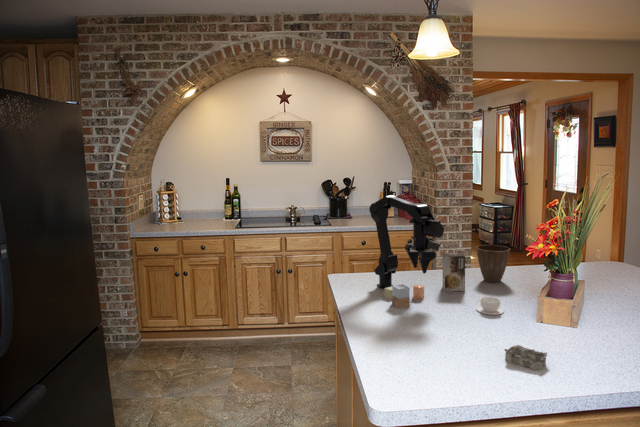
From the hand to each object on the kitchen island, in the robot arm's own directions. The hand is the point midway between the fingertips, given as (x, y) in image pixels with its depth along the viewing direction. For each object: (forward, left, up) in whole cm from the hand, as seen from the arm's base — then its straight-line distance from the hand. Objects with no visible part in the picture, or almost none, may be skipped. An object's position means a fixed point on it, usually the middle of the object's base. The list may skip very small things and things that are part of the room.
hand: (419, 270), depth 195 cm
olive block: (-4, -11, -12) cm, 17 cm away
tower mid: (+7, -11, -8) cm, 16 cm away
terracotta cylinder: (0, 0, -12) cm, 12 cm away
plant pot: (-14, +44, -12) cm, 47 cm away
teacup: (+22, +19, -12) cm, 32 cm away
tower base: (+7, -11, -12) cm, 18 cm away
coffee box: (-7, +20, -12) cm, 24 cm away
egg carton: (+64, +5, -12) cm, 65 cm away
